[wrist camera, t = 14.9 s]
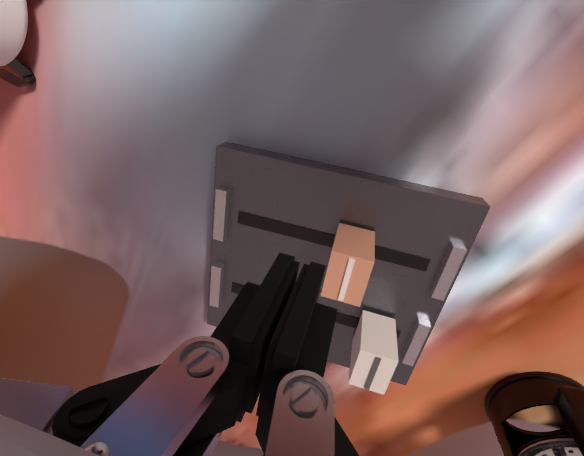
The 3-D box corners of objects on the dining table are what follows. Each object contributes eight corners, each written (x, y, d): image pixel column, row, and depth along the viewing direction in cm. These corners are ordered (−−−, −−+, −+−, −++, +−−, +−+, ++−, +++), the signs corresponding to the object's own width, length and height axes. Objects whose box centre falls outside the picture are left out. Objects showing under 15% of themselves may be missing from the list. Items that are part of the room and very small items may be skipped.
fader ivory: (362, 309, 30) (360, 351, 25) (395, 319, 29) (398, 362, 25) (352, 341, 31) (348, 385, 27) (382, 350, 31) (383, 396, 26)
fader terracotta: (339, 222, 27) (331, 251, 22) (374, 231, 26) (374, 263, 22) (329, 262, 28) (320, 297, 24) (362, 271, 28) (359, 308, 23)
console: (226, 142, 29) (212, 147, 26) (482, 198, 26) (493, 210, 23) (215, 312, 38) (203, 328, 35) (404, 369, 34) (406, 392, 32)
